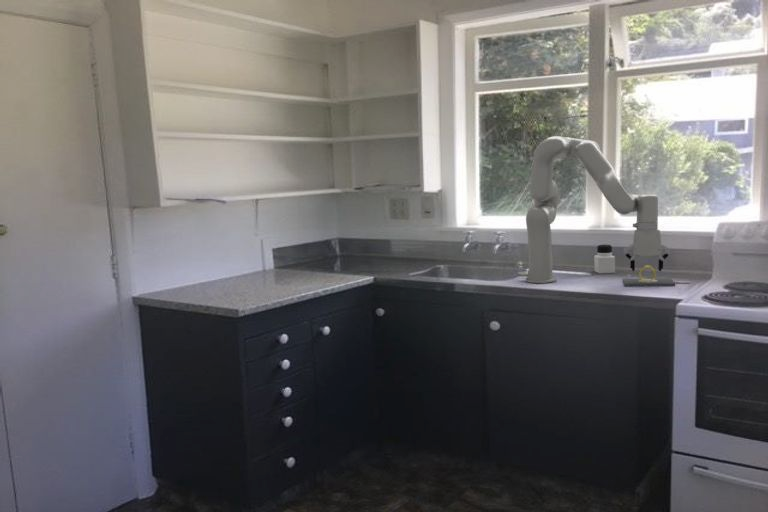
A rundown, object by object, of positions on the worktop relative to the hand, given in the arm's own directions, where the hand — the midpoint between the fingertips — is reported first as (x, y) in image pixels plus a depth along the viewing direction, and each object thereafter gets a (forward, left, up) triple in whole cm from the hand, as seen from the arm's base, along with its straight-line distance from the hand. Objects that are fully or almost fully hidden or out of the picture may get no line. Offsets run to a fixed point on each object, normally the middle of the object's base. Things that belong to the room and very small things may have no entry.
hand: (646, 270), depth 264 cm
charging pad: (+4, 0, -5) cm, 6 cm away
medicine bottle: (-14, +30, -5) cm, 34 cm away
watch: (0, 0, -4) cm, 4 cm away
